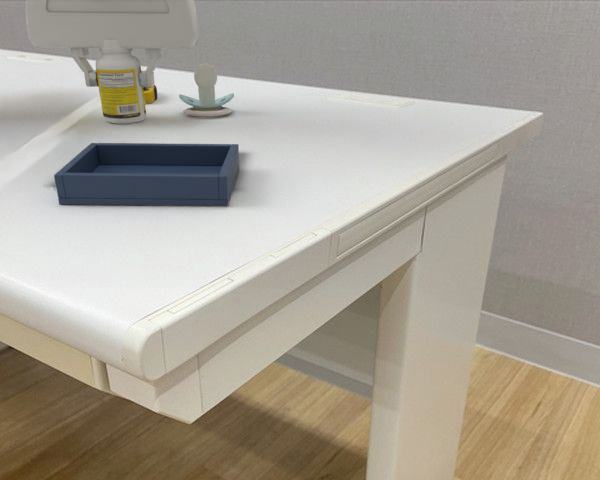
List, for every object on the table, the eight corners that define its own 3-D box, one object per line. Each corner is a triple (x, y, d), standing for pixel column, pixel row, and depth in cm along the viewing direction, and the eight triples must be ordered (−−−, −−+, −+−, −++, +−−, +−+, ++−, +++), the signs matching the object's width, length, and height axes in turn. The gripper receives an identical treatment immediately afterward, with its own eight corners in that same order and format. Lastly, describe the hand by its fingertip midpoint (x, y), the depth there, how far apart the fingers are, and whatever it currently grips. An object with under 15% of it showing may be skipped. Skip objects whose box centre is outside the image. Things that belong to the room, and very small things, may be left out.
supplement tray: (59, 204, 54) (53, 175, 53) (95, 168, 63) (91, 142, 62) (228, 206, 54) (226, 176, 53) (239, 170, 63) (238, 143, 62)
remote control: (122, 91, 89) (123, 73, 102) (123, 105, 90) (125, 86, 103) (157, 90, 90) (154, 72, 103) (158, 104, 91) (155, 85, 104)
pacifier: (235, 119, 83) (234, 108, 88) (233, 69, 80) (232, 60, 85) (178, 120, 82) (181, 109, 88) (174, 70, 79) (177, 61, 84)
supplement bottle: (120, 113, 85) (110, 34, 80) (154, 117, 83) (146, 36, 78) (94, 122, 81) (82, 39, 76) (130, 126, 79) (119, 41, 74)
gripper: (4, -39, 71) (29, 90, 77) (188, -38, 70) (197, 91, 77) (27, -40, 76) (47, 81, 83) (197, -38, 76) (204, 82, 83)
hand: (121, 86), depth 80 cm, fingers closed on supplement bottle, 5 cm apart
